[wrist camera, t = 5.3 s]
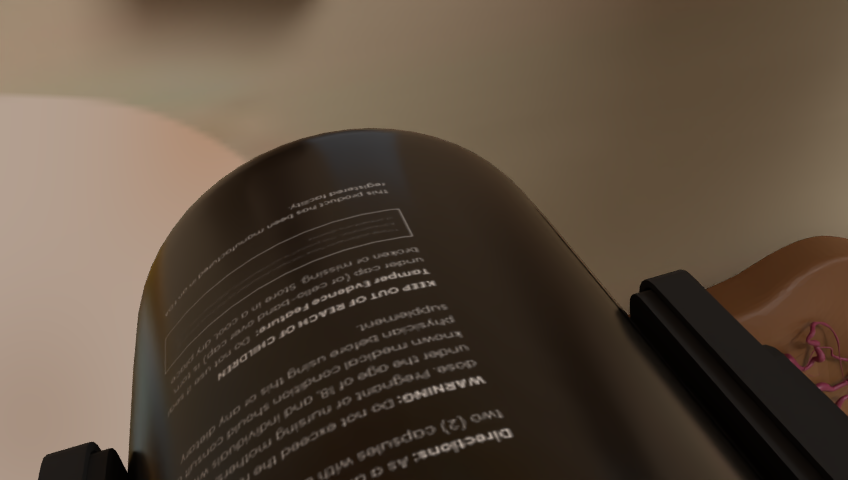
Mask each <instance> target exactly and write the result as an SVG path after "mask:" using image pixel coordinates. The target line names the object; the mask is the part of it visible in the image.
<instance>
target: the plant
mask: <svg viewBox="0 0 848 480" xmlns="http://www.w3.org/2000/svg"><path fill="white" fill-rule="evenodd" d="M706 290H707V291H708V292H709V293H710V294H711V295H712V296H713V297H714V298H715V299H716V300H717V301H718V302H719V303H720V304H721V305H722V306H723V307H724V308H725V309H726V310H727V311H728V312H729V313H730V314H731V315H732V316H733V317H734V318H735V319H736V320H737V321H738V322H739V323H740V324H741V325H742V326H743V327H744V328H745V329H746V330H747V331H748V332H749V333H750V334H751V335H752V336H753V337H754V338H756V339H757V340H758V341H759V342H760V343H761V344H762V345H765V344H766V345H769V346H772V347H775V348H776V349H777V350H779V351H780V352H781V353H783V354H784V355H785V356H786V357H787V358H788V359H789V360H790V361H791V362H792V363H793V364H794V365H795V366H796V367H797V368H798V369H800V370H801V371H802V372H803V373H804V374H805V375H806V376H807V377H808V378H809V379H810V380H811V381H812V382H813V383H814V384H815V385H816V386H817V387H818V388H819V389H820V390H821V391H822V392H823V393H824V394H825V395H826V396H828V397H829V398H830V399H831V400H832V401H833V402H834V403H835V404H836V405H837V406H838V407H839V408H840V409H841V410H842V411H843V412H844V413H845V414H846V415H847V416H848V239H846V238H840V237H833V236H817V237H811V238H807V239H803V240H800V241H797V242H794V243H792V244H790V245H788V246H786V247H783V248H781V249H780V250H778V251H776V252H774V253H772V254H770V255H768V256H767V257H765V258H763V259H762V260H760V261H758V262H757V263H755V264H754V265H752V266H750V267H749V268H747V269H746V270H744V271H742V272H741V273H739V274H737V275H736V276H734V277H732V278H730V279H728V280H726V281H724V282H721V283H719V284H717V285H714V286H712V287H710V288H707V289H706ZM628 316H629V317H630V315H628Z"/></svg>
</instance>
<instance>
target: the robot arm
mask: <svg viewBox="0 0 848 480" xmlns="http://www.w3.org/2000/svg"><path fill="white" fill-rule="evenodd" d="M630 318H631V319H632V321H633V322H634V323H635V324H636V325H637V327H638V328H639V329H640V330H641V331H642V333H643V334H644V335H645V336H646V337H647V339H648V340H649V341H650V342H651V343H652V345H653V346H654V347H655V348H656V349H657V351H658V352H659V353H660V354H661V355H662V357H663V358H664V359H665V360H666V361H667V363H668V364H669V365H670V366H671V367H672V369H673V370H674V371H675V372H676V373H677V375H678V376H679V377H680V378H681V379H682V381H683V382H684V383H685V384H686V385H687V387H688V388H689V389H690V390H691V391H692V393H693V394H694V395H695V396H696V397H697V398H698V400H699V401H700V402H701V403H702V404H703V406H704V407H705V408H706V409H707V410H708V412H709V413H710V414H711V415H712V416H713V418H714V419H715V420H716V421H717V422H718V424H719V425H720V426H721V427H722V428H723V430H724V431H725V432H726V433H727V434H728V436H729V437H730V438H731V439H732V440H733V442H734V443H735V444H736V445H737V446H738V448H739V449H740V450H741V451H742V452H743V454H744V455H745V456H746V457H747V458H748V460H749V461H750V462H751V463H752V464H753V466H754V467H755V468H756V469H757V470H758V471H759V473H760V474H761V475H762V476H763V477H764V479H765V480H848V416H847V415H846V414H845V413H844V412H843V411H842V410H841V409H840V408H839V407H838V406H837V405H836V404H835V403H834V402H833V401H832V400H831V399H830V398H829V397H828V396H826V395H825V394H824V393H823V392H822V391H821V390H820V389H819V388H818V387H817V386H816V385H815V384H814V383H813V382H812V381H811V380H810V379H809V378H808V377H807V376H806V375H805V374H804V373H803V372H802V371H801V370H800V369H798V368H797V367H796V366H795V365H794V364H793V363H792V362H791V361H790V360H789V359H788V358H787V357H786V356H785V355H784V354H783V353H781V352H780V351H779V350H777V349H776V348H775V347H772V346H769V345H766V344H765V345H762V344H761V343H760V342H759V341H758V340H757V339H756V338H754V337H753V336H752V335H751V334H750V333H749V332H748V331H747V330H746V329H745V328H744V327H743V326H742V325H741V324H740V323H739V322H738V321H737V320H736V319H735V318H734V317H733V316H732V315H731V314H730V313H729V312H728V311H727V310H726V309H725V308H724V307H723V306H722V305H721V304H720V303H719V302H718V301H717V300H716V299H715V298H714V297H713V296H712V295H711V294H710V293H709V292H708V291H707V290H706V289H705V288H704V287H703V286H702V285H701V284H700V283H699V282H698V281H697V280H696V279H695V278H694V277H693V276H692V275H691V274H689V273H688V272H687V271H685V270H677V271H674V272H670V273H667V274H664V275H660V276H657V277H653V278H650V279H646V280H644V281H642V283H641V285H640V291H639V293H636V294H633V295H632V296H631V298H630ZM127 476H128V473H127V471H126V469H125V467H124V465H123V463H122V461H121V459H120V457H119V455H118V454H117V452H116V451H115V450H114V449H113V448H110V449H106V450H103V451H101V449H100V448H99V447H98V445H97V444H96V443H94V442H89V443H85V444H82V445H79V446H75V447H72V448H68V449H65V450H61V451H58V452H55V453H51V454H48V455H46V456H45V457H44V458H43V461H42V464H41V468H40V473H39V478H38V480H127Z"/></svg>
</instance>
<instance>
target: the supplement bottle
mask: <svg viewBox="0 0 848 480" xmlns="http://www.w3.org/2000/svg"><path fill="white" fill-rule="evenodd" d="M130 421H131V422H130V439H129V458H128V476H127V480H765V479H764V477H763V476H762V475H761V474H760V473H759V471H758V470H757V469H756V468H755V467H754V466H753V464H752V463H751V462H750V461H749V460H748V458H747V457H746V456H745V455H744V454H743V452H742V451H741V450H740V449H739V448H738V446H737V445H736V444H735V443H734V442H733V440H732V439H731V438H730V437H729V436H728V434H727V433H726V432H725V431H724V430H723V428H722V427H721V426H720V425H719V424H718V422H717V421H716V420H715V419H714V418H713V416H712V415H711V414H710V413H709V412H708V410H707V409H706V408H705V407H704V406H703V404H702V403H701V402H700V401H699V400H698V398H697V397H696V396H695V395H694V394H693V393H692V391H691V390H690V389H689V388H688V387H687V385H686V384H685V383H684V382H683V381H682V379H681V378H680V377H679V376H678V375H677V373H676V372H675V371H674V370H673V369H672V367H671V366H670V365H669V364H668V363H667V361H666V360H665V359H664V358H663V357H662V355H661V354H660V353H659V352H658V351H657V349H656V348H655V347H654V346H653V345H652V343H651V342H650V341H649V340H648V339H647V337H646V336H645V335H644V334H643V333H642V331H641V330H640V329H639V328H638V327H637V325H636V324H635V323H634V322H633V321H632V319H631V318H630V317H629V316H628V315H627V314H626V312H625V311H624V310H623V309H622V308H621V306H620V305H619V304H618V303H617V302H616V300H615V299H614V298H613V297H612V296H611V294H610V293H609V292H608V291H607V290H606V288H605V287H604V286H603V285H602V284H601V282H600V281H599V280H598V279H597V278H596V276H595V275H594V274H593V273H592V272H591V270H590V269H589V268H588V267H587V266H586V264H585V263H584V262H583V261H582V260H581V258H580V257H579V256H578V255H577V254H576V252H575V251H574V250H573V249H572V248H571V246H570V245H569V244H568V243H567V242H566V240H565V239H564V238H563V237H562V236H561V235H560V233H559V232H558V231H557V230H556V229H555V227H554V226H553V225H552V224H551V223H550V221H549V220H548V219H547V218H546V217H545V215H544V214H543V213H542V212H541V211H540V210H539V209H538V208H537V207H536V206H535V205H534V203H533V202H532V201H531V200H530V199H529V198H528V197H527V195H526V194H525V193H524V192H523V191H522V190H521V189H520V188H519V187H518V186H517V185H516V184H515V183H514V182H513V181H512V180H511V179H510V178H509V177H507V176H506V175H505V174H504V173H503V172H501V171H500V170H499V169H498V168H496V167H495V166H494V165H492V164H491V163H490V162H488V161H487V160H485V159H483V158H482V157H480V156H478V155H477V154H475V153H473V152H471V151H469V150H467V149H465V148H463V147H461V146H459V145H456V144H454V143H451V142H448V141H445V140H442V139H439V138H436V137H433V136H429V135H425V134H421V133H416V132H411V131H404V130H396V129H380V128H364V129H347V130H340V131H334V132H327V133H322V134H318V135H314V136H310V137H306V138H302V139H299V140H296V141H293V142H290V143H288V144H285V145H282V146H279V147H277V148H275V149H272V150H270V151H268V152H266V153H264V154H261V155H259V156H257V157H255V158H254V159H252V160H250V161H248V162H247V163H245V164H243V165H241V166H240V167H238V168H237V169H235V170H234V171H232V172H231V173H229V174H228V175H226V176H225V177H224V178H222V179H221V180H219V181H218V182H217V183H216V184H215V185H213V186H212V187H211V188H210V189H209V190H208V191H206V192H205V193H204V194H203V195H202V196H201V197H200V198H199V199H198V200H197V201H196V202H195V203H194V204H193V205H192V206H191V207H190V208H189V209H188V210H187V211H186V213H185V214H184V215H183V217H182V218H181V219H180V220H179V222H178V223H177V224H176V226H175V227H174V228H173V229H172V231H171V232H170V234H169V236H168V237H167V239H166V240H165V242H164V243H163V245H162V246H161V248H160V250H159V252H158V254H157V256H156V259H155V261H154V262H153V264H152V266H151V269H150V272H149V274H148V278H147V280H146V283H145V286H144V290H143V295H142V300H141V304H140V308H139V313H138V323H137V334H136V346H135V357H134V368H133V384H132V403H131V420H130Z"/></svg>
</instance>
